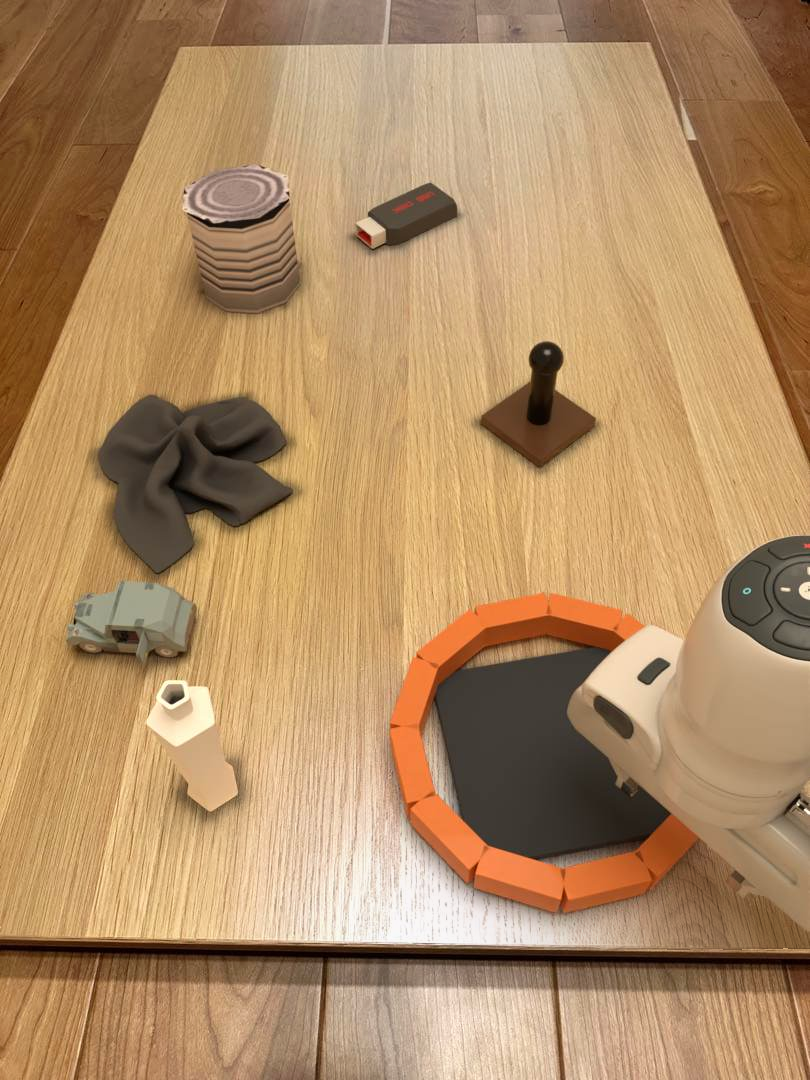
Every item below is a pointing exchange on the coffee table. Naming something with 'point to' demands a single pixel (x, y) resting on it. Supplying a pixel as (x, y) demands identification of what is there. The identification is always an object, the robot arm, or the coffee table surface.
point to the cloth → (188, 470)
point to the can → (243, 237)
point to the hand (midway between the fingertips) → (683, 832)
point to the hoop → (449, 830)
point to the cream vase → (193, 742)
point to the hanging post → (539, 411)
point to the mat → (535, 760)
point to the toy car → (133, 620)
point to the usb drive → (406, 216)
